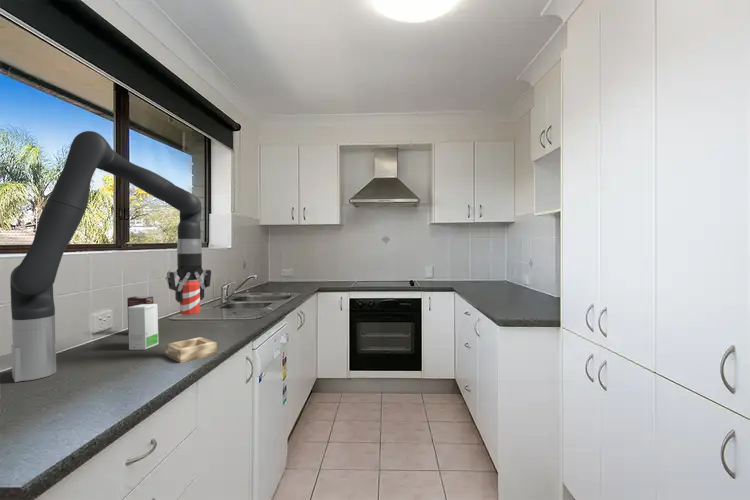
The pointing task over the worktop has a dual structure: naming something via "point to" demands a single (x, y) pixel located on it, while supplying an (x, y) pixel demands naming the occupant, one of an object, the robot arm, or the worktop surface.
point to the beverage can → (190, 298)
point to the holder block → (191, 349)
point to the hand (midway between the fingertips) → (190, 300)
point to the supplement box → (138, 302)
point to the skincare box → (143, 326)
